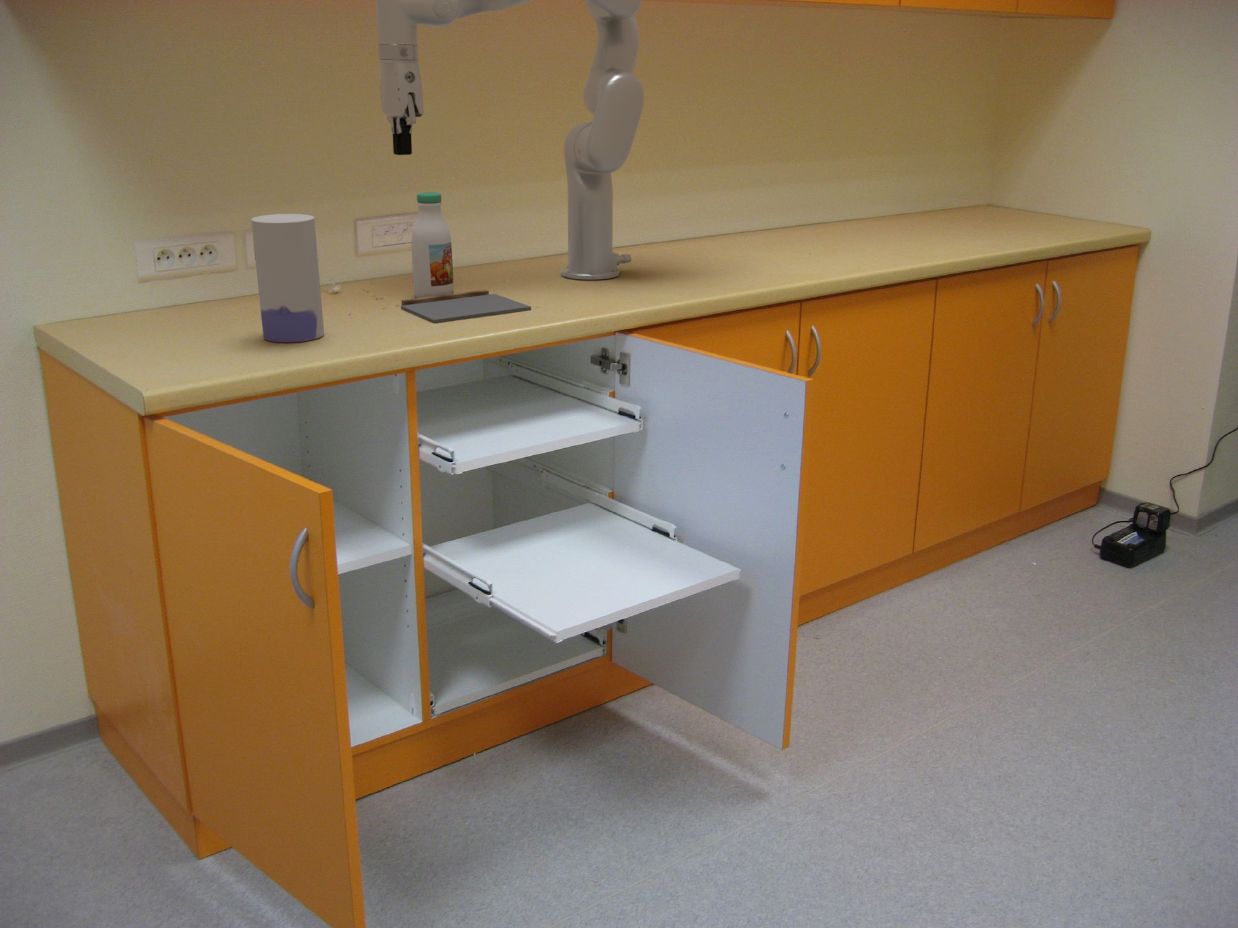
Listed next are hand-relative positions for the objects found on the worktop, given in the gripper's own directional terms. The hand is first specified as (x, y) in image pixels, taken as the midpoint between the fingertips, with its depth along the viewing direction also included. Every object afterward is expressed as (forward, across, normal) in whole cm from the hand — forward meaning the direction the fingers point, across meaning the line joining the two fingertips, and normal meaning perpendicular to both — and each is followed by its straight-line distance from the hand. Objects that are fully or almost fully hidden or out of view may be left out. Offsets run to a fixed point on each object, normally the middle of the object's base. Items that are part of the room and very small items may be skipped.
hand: (402, 154), depth 225 cm
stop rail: (+26, -15, -1) cm, 31 cm away
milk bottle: (+27, -10, -1) cm, 28 cm away
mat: (+26, -24, -1) cm, 35 cm away
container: (+27, -26, +33) cm, 50 cm away
